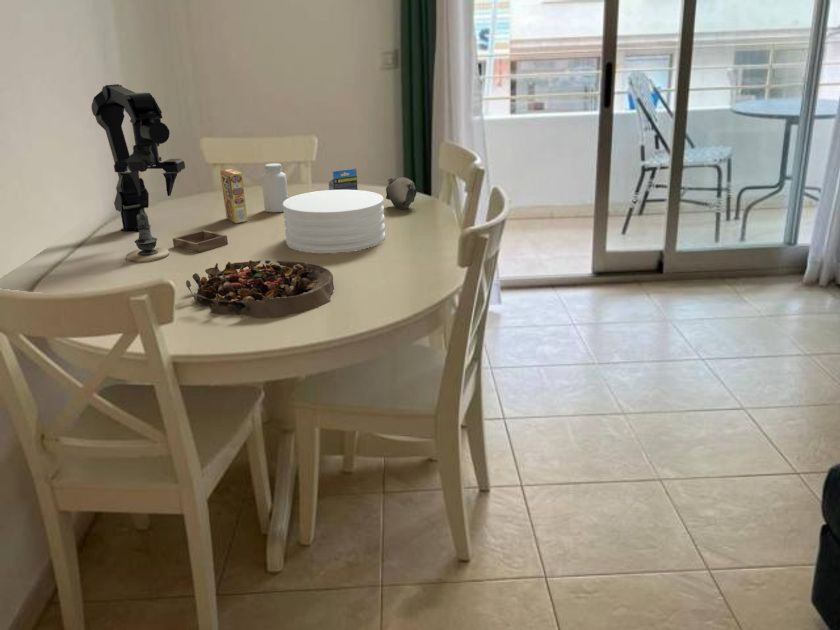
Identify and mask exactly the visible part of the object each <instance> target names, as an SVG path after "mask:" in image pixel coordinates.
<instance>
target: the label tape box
mask: <svg viewBox="0 0 840 630" xmlns="http://www.w3.org/2000/svg"><path fill="white" fill-rule="evenodd" d="M331 172H332V179H331V180H330V181H328V190H359V189H358V176H357V168H351V169H349V168H348V169H341V170H333V171H331ZM343 174H345V175H343Z"/></svg>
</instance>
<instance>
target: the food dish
mask: <svg viewBox="0 0 840 630" xmlns="http://www.w3.org/2000/svg"><path fill="white" fill-rule="evenodd" d="M261 262H262V260H256V261H252V260H248V261H244V262H243V261H241V262H233V263H231V262H230V261H228V262H227V263H226V264H225V268H224V269H223V270H220V269H219V267H218V265H219V263H218V262H216V264H215V265H214V267H209V268H205V271H204V272H205V273H206V274H207V275H208V277H206V276H201V277H200V275H199V274H198V273H196V272H195V273H194V274H192V276H191V277H192V278H193V280H194V281H195V283H196V284H197V286H198V289H197V293H196V292H192V290H191V288H190V287H191V286H192V284H191V282H190V280H188V279H187V280H186V282H185V286H186V287H187V289H188V290H189V292H190V294H191V295H192V296H193V299H194V300H195V303H196V304H197V305H198V306H200V307H202V308H204V307H207V308H210V310H211V313H213V314H215V315H223V316H224V315H225V316H226V315H230V316H250V317H251V318H254V319H260V320H261V319H280V318H284V317H288V316H290V315H298V314H302V313H306V312H309V311H311V310H314V309H318V308H320V307H322V306H325V305H326V304H329V303H330V302H332V301H331V298H332V296H333V295H334V291H335V285H334V275H333V273H332V272H331V271H330V270H329V269H328V268H327V267H323V266H322V265H319V264H316V263H311V262H305V261H299V260H298V261H295V260H290V261H289V260H288V261H287V260H284V261H283V260H278V261H276V263H278V265H277V264H275V263H271V260H267V259H266V260H265V261H264V263H265V264H263V263H262V265H260V264H261ZM247 268H248V269H247ZM238 270H239V271H238ZM333 290H334V291H333ZM195 295H196V296H195Z"/></svg>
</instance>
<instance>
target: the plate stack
mask: <svg viewBox="0 0 840 630" xmlns="http://www.w3.org/2000/svg"><path fill="white" fill-rule="evenodd" d="M384 203H385V201H384V197H383V195H382V194H380V193H378V192H374V191H373V192H372V191H369V190H360V189H358V190H329V189H328V190H327V189H325V190H317V191H310V192H304V193H301V194H296V195H293V196H291V197H288V199H286V200H285V201H284V202H283V209H284V212H283V219H284V222H283V223H284V228H285V232H284V233H285V237H286V238H285V243H286V246H287V245H288V246H287V247H288V248H290V249H292V250H294V249H295V250H294V251H297V250H299V252H302V251H305V252H304V253H308V252H314V253H313V254H321V253H331V254H336V253H335V252H346V253H351V252H350V251H353V252H356V251H355V250H359V251H362V250H361V249H364V250H366V249H365V248H368V249H370V248H369V247H371V248H373V247H372V246H374V245H376V246H378V245H380V244H382V243H383V242H384V241H385V240H386V233H385V232H386V231H385V230H386V226H385V214H384V213H385V207H384ZM384 239H385V240H384ZM383 240H384V241H383ZM382 241H383V242H382ZM381 242H382V243H381ZM379 243H380V244H379ZM377 244H378V245H377ZM374 247H375V246H374Z"/></svg>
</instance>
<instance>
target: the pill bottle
mask: <svg viewBox="0 0 840 630" xmlns="http://www.w3.org/2000/svg"><path fill="white" fill-rule="evenodd" d="M282 170H283V167H282V164H281V163H276V162H275V163H267V164H265V165H264V171H265V172H264V173H263V174H262V175H261V186H262V195H263V207H264V212H267V213H284V209H283V202H284V201H285V200H286V199H288V198H289V193H288V183H287V174H286V173H285V172H282Z"/></svg>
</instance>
